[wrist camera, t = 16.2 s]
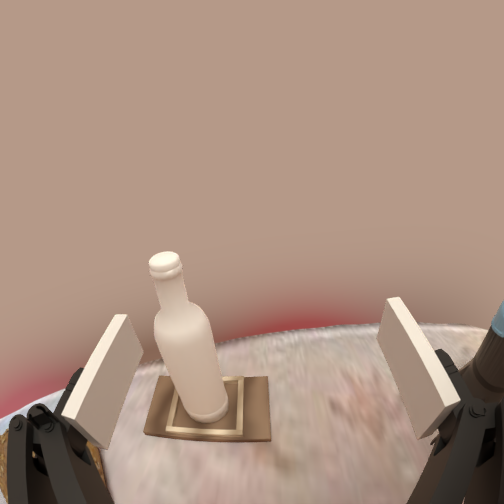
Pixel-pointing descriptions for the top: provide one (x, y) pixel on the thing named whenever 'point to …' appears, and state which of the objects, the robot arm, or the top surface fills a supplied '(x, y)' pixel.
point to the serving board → (225, 430)
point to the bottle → (187, 343)
